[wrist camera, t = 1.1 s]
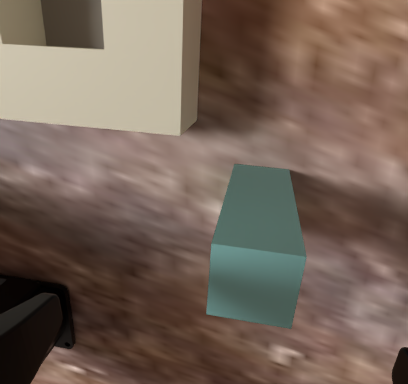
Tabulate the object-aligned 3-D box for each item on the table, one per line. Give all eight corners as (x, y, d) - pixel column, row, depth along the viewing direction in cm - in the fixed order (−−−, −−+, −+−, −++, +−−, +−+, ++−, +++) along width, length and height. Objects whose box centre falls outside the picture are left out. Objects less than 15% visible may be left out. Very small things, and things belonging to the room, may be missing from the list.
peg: (281, 217, 20) (291, 328, 12) (230, 211, 21) (206, 314, 12) (289, 169, 19) (306, 257, 11) (234, 163, 19) (211, 243, 11)
